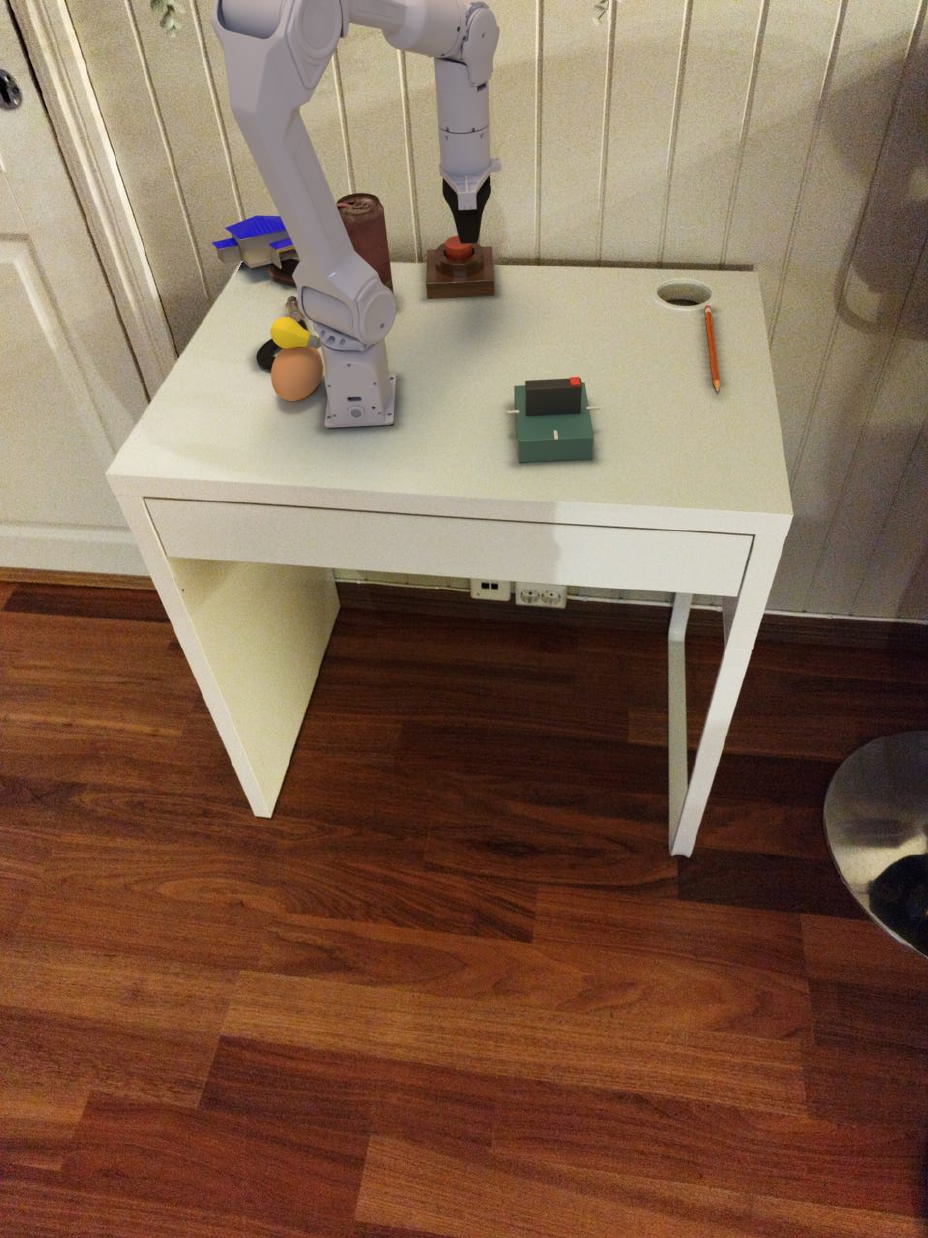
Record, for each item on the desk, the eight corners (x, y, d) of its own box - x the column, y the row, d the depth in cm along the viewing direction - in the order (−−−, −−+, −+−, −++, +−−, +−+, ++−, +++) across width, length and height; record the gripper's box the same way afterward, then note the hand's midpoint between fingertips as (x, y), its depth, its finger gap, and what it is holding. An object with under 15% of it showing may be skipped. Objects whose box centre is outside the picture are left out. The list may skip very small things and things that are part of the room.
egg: (313, 324, 110) (287, 368, 105) (340, 363, 114) (317, 407, 109) (276, 337, 113) (250, 381, 108) (304, 375, 117) (280, 418, 112)
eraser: (280, 254, 132) (282, 265, 133) (262, 267, 129) (265, 279, 131) (346, 271, 128) (348, 283, 129) (329, 285, 126) (331, 297, 127)
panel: (602, 459, 102) (604, 436, 100) (508, 463, 103) (508, 440, 100) (592, 402, 109) (594, 379, 107) (505, 406, 109) (504, 383, 107)
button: (472, 260, 124) (472, 247, 123) (445, 261, 124) (444, 249, 123) (472, 246, 127) (471, 234, 125) (445, 248, 127) (444, 235, 125)
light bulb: (271, 341, 110) (277, 310, 109) (320, 356, 111) (327, 326, 109) (264, 345, 107) (271, 314, 106) (315, 361, 108) (322, 331, 106)
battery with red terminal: (525, 415, 103) (525, 387, 100) (525, 406, 104) (525, 378, 101) (580, 413, 103) (582, 384, 100) (579, 404, 104) (580, 375, 101)
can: (342, 299, 126) (325, 196, 116) (388, 289, 127) (375, 186, 117) (352, 322, 123) (336, 218, 112) (399, 312, 124) (387, 208, 113)
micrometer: (258, 373, 115) (269, 388, 117) (308, 345, 114) (319, 362, 116) (248, 315, 125) (258, 330, 127) (295, 289, 124) (304, 305, 126)
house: (236, 279, 124) (225, 234, 121) (215, 258, 135) (204, 217, 132) (317, 260, 127) (308, 216, 124) (290, 241, 138) (281, 201, 135)
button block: (494, 295, 125) (493, 267, 122) (427, 298, 126) (424, 270, 122) (492, 260, 131) (491, 233, 128) (428, 264, 131) (425, 236, 128)
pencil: (710, 309, 120) (711, 304, 120) (720, 394, 109) (721, 389, 108) (704, 309, 120) (704, 304, 120) (713, 393, 109) (714, 388, 108)
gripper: (502, 148, 99) (504, 269, 109) (497, 95, 109) (499, 210, 119) (436, 152, 99) (444, 272, 110) (436, 98, 109) (443, 213, 119)
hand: (469, 240), depth 114 cm, fingers closed
